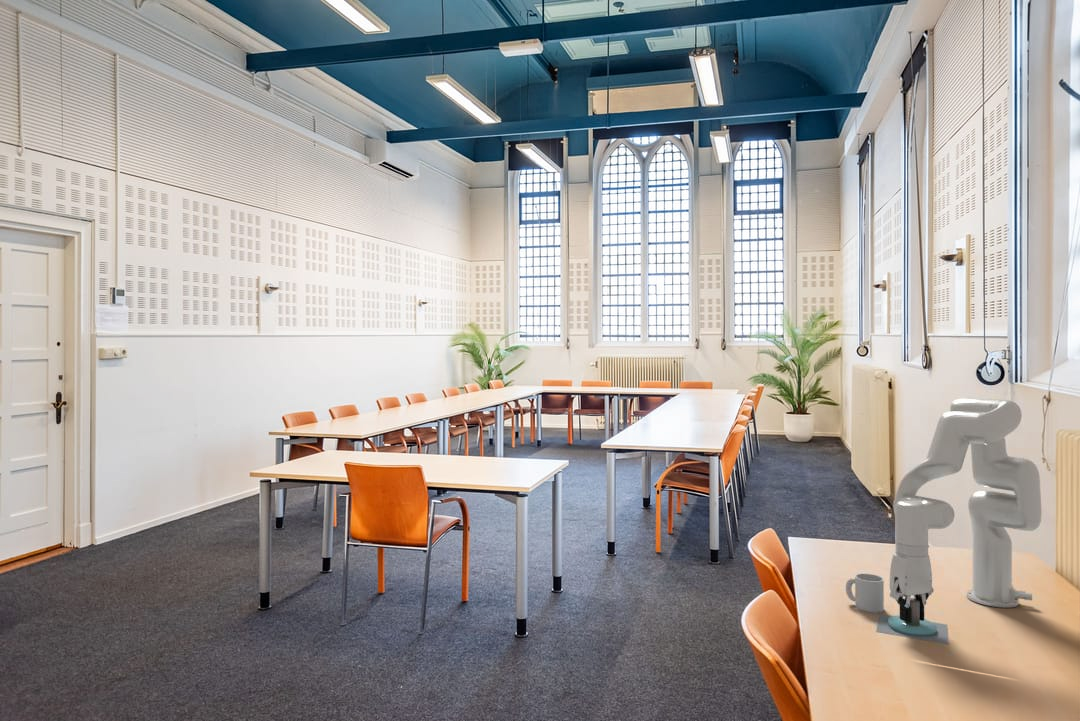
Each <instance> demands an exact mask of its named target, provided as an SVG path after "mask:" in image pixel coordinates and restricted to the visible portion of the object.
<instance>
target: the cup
mask: <svg viewBox="0 0 1080 721" xmlns="http://www.w3.org/2000/svg"><path fill="white" fill-rule="evenodd" d="M884 581H885V580H884V578H883V576H879V575H877V574H871V573H856V574H855V575H854V577H850V578H849V579H847V581H846V582H845V583H846V584H845V592H846V596H847V597H848V599H849V600H850V601H852V602H854V603H855V608H856V609H858V610H860V611H862V612H867V613H875V614H876V613H881V612H884V610H885V609H884V608H885V607H884V606H885V598H884V597H885V595H884V594H885V590H884V583H885V582H884ZM853 585H855V586H854V589H855V590H854V591H855V592H854V594H853V592H852V591H853V589H852V588H853Z"/></svg>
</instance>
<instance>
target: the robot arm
mask: <svg viewBox="0 0 1080 721" xmlns="http://www.w3.org/2000/svg"><path fill="white" fill-rule="evenodd" d="M949 409H950V411H946V412H945V413H943V414H941V416H940V417H939V419H938V421H937V424H936V428H935V430H934V434H933V437H932V439H931V442H930V447H929V449H928V452H927V456H926V458H924V460H923V461H921V462H920V463H919V462H918V464H917V465H915V466H914V467H913V468H911V469H910V470H909V471H908V472H907V473H906V474H905V475H904V476H903V477H902V479H901V480H900V483H899V484H898V486H897V487H898V488H897V490H896V493H895V497H894V501H893V513H894V515H895V517H894V519H895V522H894V526H895V528H894V532H895V533H894V535H895V536H894V538H895V539H894V541H895V543H894V544H895V545H894V546H895V548H894V549H895V550H894V552H895V553H893V555H892V558H891V562H890V568H889V569H890V570H889V590H890V592H889V596H890V598H892V599H894V600H895V601H896V602H897V603H896V604H897V605H899V615H900V619H901V620H903V621H905V622H907V623H911V622H912V609H911V607H909V606H910V598H912V597H911V596H913V598H914V599H917V600H919V601H920V620H921V621H924V619H925V606H926V605H927V600H928V599H929V597H930V595H932V594H933V593H934V592H935V591H934V590H935V589H934V588H933V572H932V563H931V559H930V555H929V548H930V545H929V530H931V529H933V530H934V529H935V530H942V529H945V528H948V527H949V526H950V525H952V524H953V522H954V519H955V511H954V508H953V507H952V505H951V504H950V503H948V502H946V501H945V500H941V499H936V498H931V497H925V496H920V495H917V493H918V491H919V490H920V488H922V486H924V485H925V484H928V482H931V481H933V480H937V479H941V478H943V477H947V476H951V475H954V474H958V473H959V472H960V471H961V470H962V469H963V465H964V461H965V459H966V456H967V451H968V448H969V445H970V452H971V453H970V454H971V469H972V470H971V471H972V477H973V479H974V482H975V483H976V484H977V485H979V486H982V487H985V488H990V489H998V490H1004V491H1012V492H1013V493H1014V494H1011V493H1006V492H999V491H994V490H978V491H975V492H974V493H972V494H971V495H970V497H969V499H968V505H967V506H968V512H969V513H968V514H969V517H970V522H971V529H972V530H971V531H972V536H971V537H972V589H969V590H967V591H966V597H967V598H968V599H969V600H970V601H973V602H975V603H978V604H980V605H984V606H988V607H989V606H990V607H995V608H1016V607H1018V606H1019V603H1020V601H1019V600H1025V601H1033V593H1030V592H1026V591H1025V590H1017V589H1016V588H1014V586H1013V563H1012V562H1013V559H1012V558H1013V551H1012V549H1013V545H1012V540H1011V539H1012V538H1011V536H1010V535H1009V533H1008V532H1007V530H1006V528H1008V529H1013V530H1017V531H1018V530H1019V531H1024V532H1033V531H1036V530H1037V529H1038V528H1039V527H1040V525H1041V522H1042V497H1041V496H1042V495H1041V477H1040V471H1039V469H1038V467H1037V465H1036V464H1035V463H1034V462H1033V461H1032V460H1030V459H1028V458H1024V457H1023V458H1022V457H1016V456H1009V455H1008V453H1007V444H1006V438H1005V437H1007V436H1008V435H1010V434H1012V433H1013V432H1014V431H1015V430H1016V429H1017V428H1018V427H1019V425H1020V424H1021V421H1022V409H1021V407H1020V406H1019V405H1018V404H1017V403H1016V402H1014V401H1012V400H1008V399H992V398H991V399H989V398H988V399H987V398H974V397H973V398H972V397H965V398H957V399H955V400H954V401H952V402H951V404H950V407H949ZM904 599H905V600H904Z"/></svg>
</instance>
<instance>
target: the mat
mask: <svg viewBox="0 0 1080 721" xmlns="http://www.w3.org/2000/svg"><path fill="white" fill-rule="evenodd" d="M892 616H893V615H892V614H891V615H890V614H884V613H879V614H878V619H877V624H876V630H875V632H876V633H880V634H886V635H892V636H899V637H905V638H910V639H916V640H922V641H926V642H927V641H928V642H933V643H939V644H945V645H949V644H950V643H949V633H948V624H946V623H941V622H934V621H933V622H932V621H931V622H932V623H933V624H935V625H936V634H935V635H933V636H927V637H920V636H911V635H907V634H903V633H900V632H897V631H895V630H893V629H891V628H890V627H889V625H888V619H889V618H890V617H892Z"/></svg>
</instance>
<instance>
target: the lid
mask: <svg viewBox="0 0 1080 721" xmlns="http://www.w3.org/2000/svg"><path fill="white" fill-rule="evenodd" d="M903 599H904V600H905V598H903ZM909 607H911V609H912V622H911V623H907V622H905V621H903V620H901V619H900V614H899V615H891V616H892V617H890V618H889V619H888V625H889V627H890V628H891V629H893V630H895V631H897V632H900V633H903V634H907V635H911V636H920V637H927V636H933V635H935V634H936V625H935V624H933V623H932V621H930V620H927V619H925V618H924V621H921V620H920V601H919V600H917V599H914V597H913V598H912V597H910V606H909Z"/></svg>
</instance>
